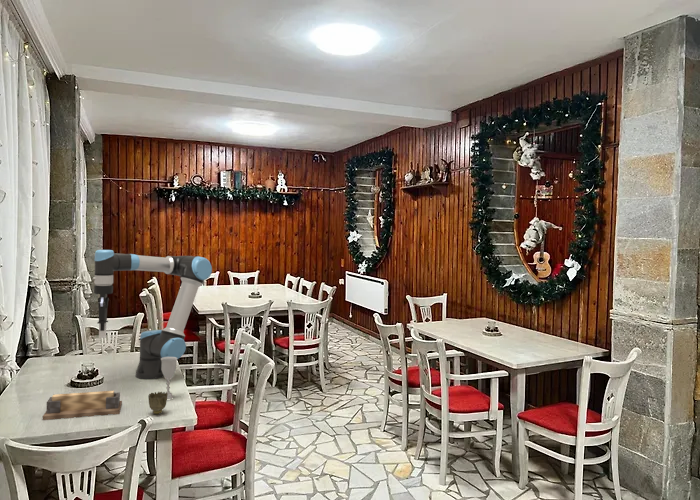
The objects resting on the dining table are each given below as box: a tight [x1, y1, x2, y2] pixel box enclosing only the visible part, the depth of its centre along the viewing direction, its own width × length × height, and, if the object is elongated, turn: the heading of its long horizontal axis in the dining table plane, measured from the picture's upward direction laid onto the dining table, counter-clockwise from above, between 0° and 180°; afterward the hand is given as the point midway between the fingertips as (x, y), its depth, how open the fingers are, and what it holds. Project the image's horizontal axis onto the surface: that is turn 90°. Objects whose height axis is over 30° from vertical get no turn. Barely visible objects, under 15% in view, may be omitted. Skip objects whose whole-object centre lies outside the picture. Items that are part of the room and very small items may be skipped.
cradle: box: [42, 391, 123, 421], centre depth 203 cm, size 27×12×6 cm, turn 110°
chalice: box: [161, 357, 178, 400], centre depth 222 cm, size 7×7×18 cm
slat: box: [51, 390, 115, 411], centre depth 202 cm, size 22×3×6 cm, turn 110°
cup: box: [148, 391, 168, 415], centre depth 204 cm, size 8×7×8 cm
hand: (102, 337), depth 221 cm, fingers closed
